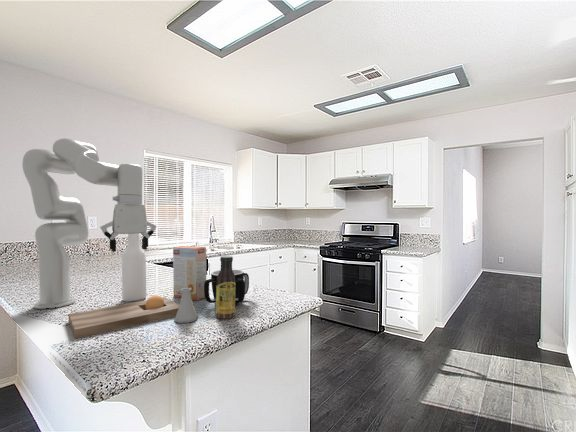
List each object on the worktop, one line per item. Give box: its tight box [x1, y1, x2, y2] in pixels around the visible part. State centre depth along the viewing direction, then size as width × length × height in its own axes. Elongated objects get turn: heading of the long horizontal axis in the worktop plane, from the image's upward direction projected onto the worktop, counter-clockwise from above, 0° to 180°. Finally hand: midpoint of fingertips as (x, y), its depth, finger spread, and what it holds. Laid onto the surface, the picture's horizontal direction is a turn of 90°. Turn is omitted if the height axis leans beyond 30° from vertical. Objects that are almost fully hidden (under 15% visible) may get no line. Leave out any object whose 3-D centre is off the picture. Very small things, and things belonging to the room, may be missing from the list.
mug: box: [204, 269, 250, 306], centre depth 116 cm, size 16×16×12 cm
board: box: [68, 296, 180, 339], centre depth 101 cm, size 18×30×2 cm, turn 130°
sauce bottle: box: [215, 255, 236, 320], centre depth 101 cm, size 6×6×20 cm
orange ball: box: [145, 294, 164, 310], centre depth 106 cm, size 6×6×6 cm
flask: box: [173, 288, 199, 324], centre depth 98 cm, size 7×7×10 cm
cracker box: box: [172, 245, 207, 301], centre depth 126 cm, size 14×6×21 cm, turn 58°
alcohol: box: [121, 233, 147, 303], centre depth 124 cm, size 9×9×30 cm
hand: (129, 250), depth 105 cm, fingers open, 9 cm apart
